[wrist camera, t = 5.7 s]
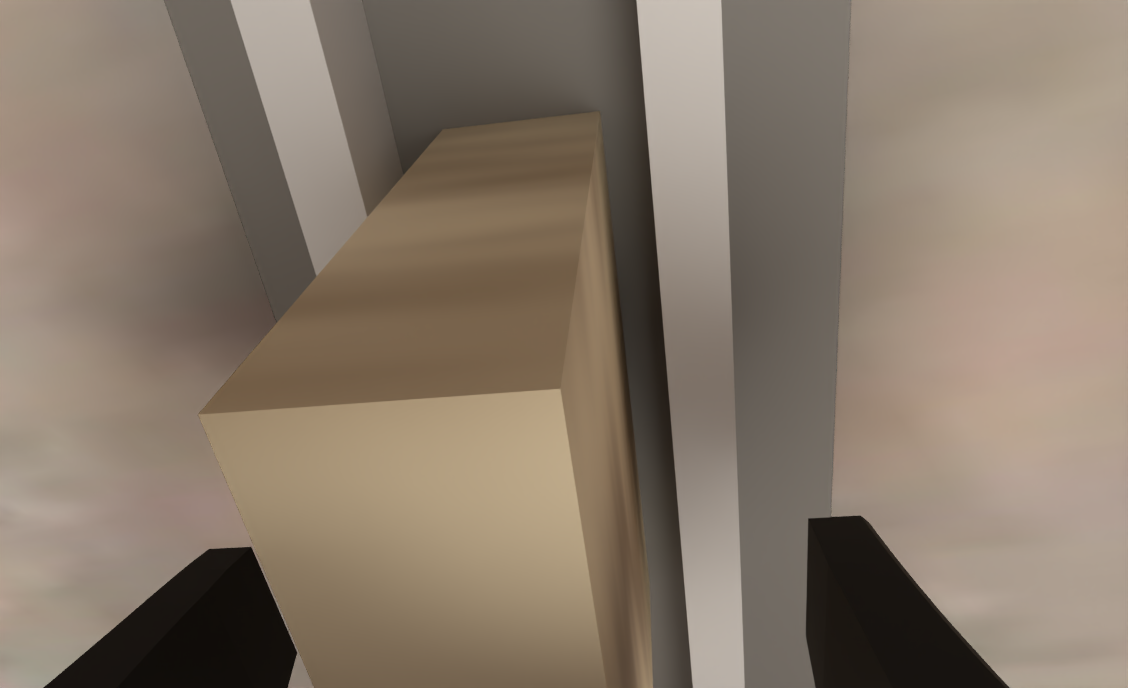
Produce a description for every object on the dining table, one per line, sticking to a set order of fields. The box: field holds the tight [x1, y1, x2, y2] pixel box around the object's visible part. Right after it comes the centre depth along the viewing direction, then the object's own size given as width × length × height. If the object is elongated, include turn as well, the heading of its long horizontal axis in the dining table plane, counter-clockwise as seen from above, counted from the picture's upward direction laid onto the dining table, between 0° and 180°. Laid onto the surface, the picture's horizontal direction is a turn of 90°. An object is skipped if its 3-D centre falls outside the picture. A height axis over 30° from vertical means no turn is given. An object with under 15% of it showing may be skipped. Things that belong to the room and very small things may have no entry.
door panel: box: [198, 111, 653, 688], centre depth 11 cm, size 10×2×8 cm, turn 8°
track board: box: [164, 0, 851, 688], centre depth 13 cm, size 24×10×5 cm, turn 8°
